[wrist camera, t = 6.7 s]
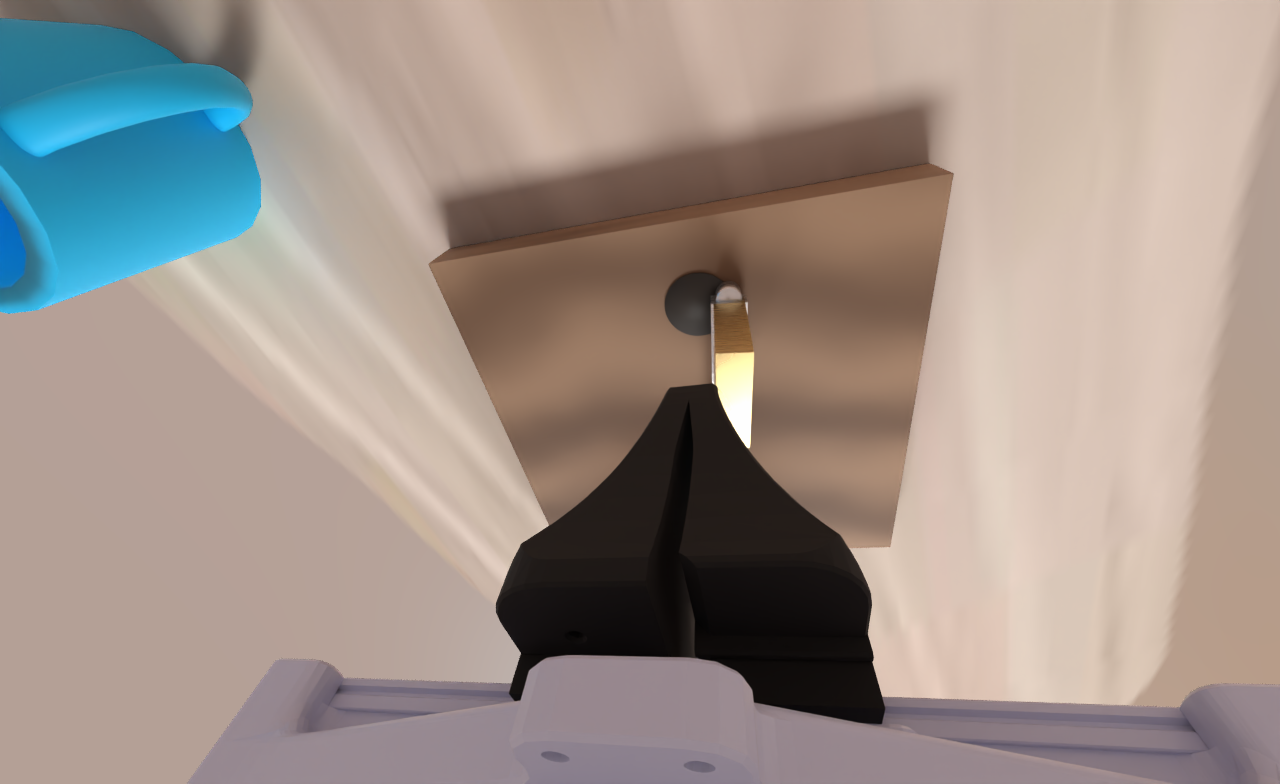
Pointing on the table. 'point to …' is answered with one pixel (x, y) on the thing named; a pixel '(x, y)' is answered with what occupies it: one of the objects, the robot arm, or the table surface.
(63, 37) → the mug
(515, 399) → the hole plate
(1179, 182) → the table surface
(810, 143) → the table surface
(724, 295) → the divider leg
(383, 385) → the table surface
